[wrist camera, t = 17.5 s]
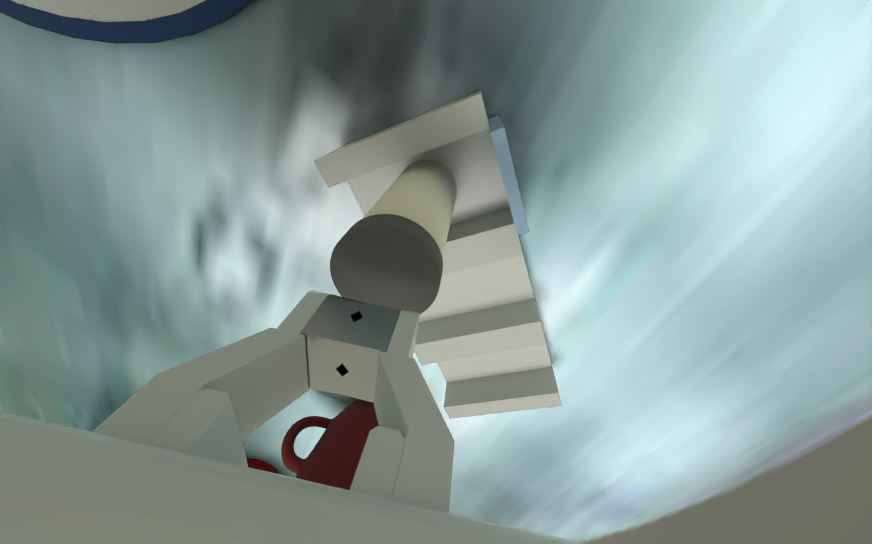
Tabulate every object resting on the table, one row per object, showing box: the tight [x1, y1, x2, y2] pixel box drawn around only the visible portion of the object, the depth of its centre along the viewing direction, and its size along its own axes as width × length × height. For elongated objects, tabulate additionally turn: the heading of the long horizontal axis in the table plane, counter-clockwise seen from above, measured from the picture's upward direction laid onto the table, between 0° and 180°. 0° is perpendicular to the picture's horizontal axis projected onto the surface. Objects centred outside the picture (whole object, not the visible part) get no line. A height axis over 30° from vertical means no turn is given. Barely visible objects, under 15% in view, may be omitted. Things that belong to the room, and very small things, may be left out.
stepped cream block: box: [314, 91, 562, 419], centre depth 21 cm, size 22×10×6 cm, turn 20°
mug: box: [281, 400, 379, 490], centre depth 30 cm, size 10×8×10 cm
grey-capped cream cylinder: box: [330, 160, 457, 314], centre depth 15 cm, size 4×4×10 cm
